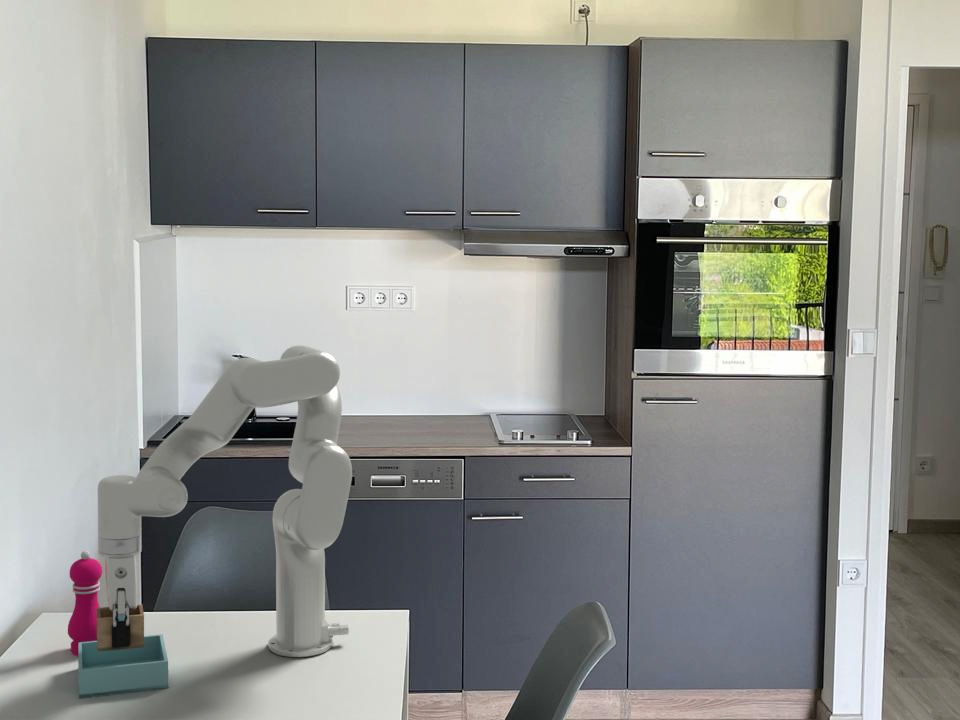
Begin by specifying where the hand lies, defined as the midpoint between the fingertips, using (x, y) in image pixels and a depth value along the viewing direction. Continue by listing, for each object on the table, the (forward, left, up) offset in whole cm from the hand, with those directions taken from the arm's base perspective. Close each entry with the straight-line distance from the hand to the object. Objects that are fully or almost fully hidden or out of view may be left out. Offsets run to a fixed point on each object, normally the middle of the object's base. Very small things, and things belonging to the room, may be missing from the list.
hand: (120, 638), depth 204 cm
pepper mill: (+6, -16, -8) cm, 19 cm away
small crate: (0, 0, -1) cm, 1 cm away
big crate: (0, 0, -8) cm, 8 cm away
